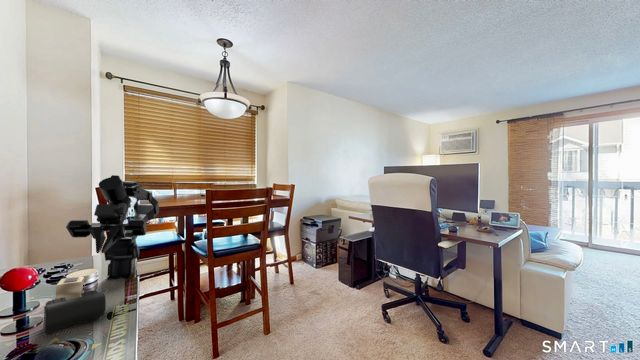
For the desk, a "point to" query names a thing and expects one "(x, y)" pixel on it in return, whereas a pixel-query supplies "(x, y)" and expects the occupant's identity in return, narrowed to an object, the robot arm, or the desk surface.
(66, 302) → the end cap
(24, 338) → the desk surface
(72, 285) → the beech block
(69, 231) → the robot arm
